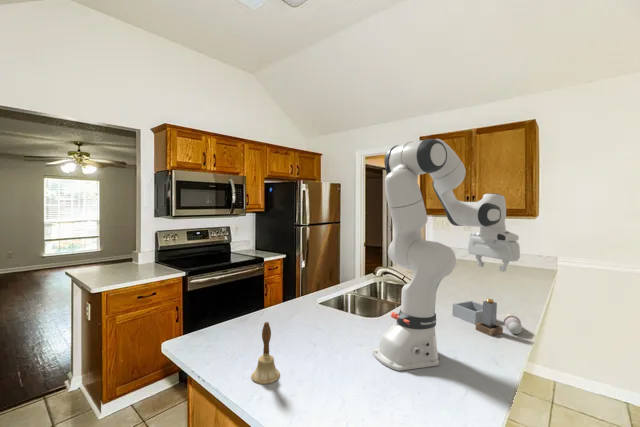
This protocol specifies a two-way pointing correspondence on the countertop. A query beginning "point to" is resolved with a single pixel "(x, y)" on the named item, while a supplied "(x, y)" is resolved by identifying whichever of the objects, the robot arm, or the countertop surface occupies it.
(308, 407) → the countertop surface
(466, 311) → the tub
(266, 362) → the hand bell
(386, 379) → the countertop surface
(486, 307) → the strut
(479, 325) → the socket ring
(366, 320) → the countertop surface
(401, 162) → the robot arm
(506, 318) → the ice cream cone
